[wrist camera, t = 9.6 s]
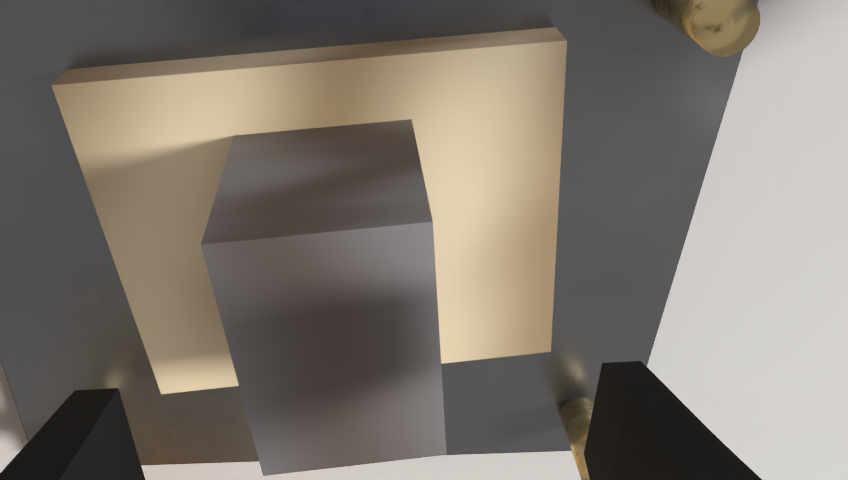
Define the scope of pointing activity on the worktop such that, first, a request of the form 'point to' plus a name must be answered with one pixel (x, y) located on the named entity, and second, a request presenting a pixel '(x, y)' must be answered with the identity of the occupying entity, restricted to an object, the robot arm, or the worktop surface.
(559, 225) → the pin plate
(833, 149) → the worktop surface
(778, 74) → the worktop surface
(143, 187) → the birch board
